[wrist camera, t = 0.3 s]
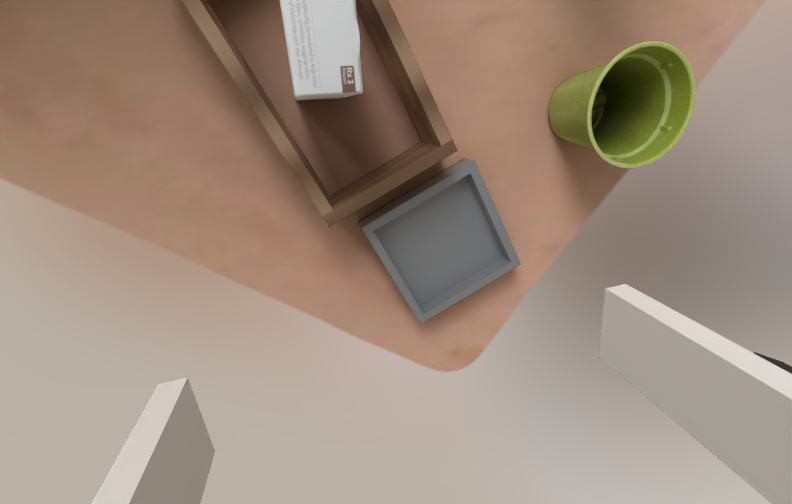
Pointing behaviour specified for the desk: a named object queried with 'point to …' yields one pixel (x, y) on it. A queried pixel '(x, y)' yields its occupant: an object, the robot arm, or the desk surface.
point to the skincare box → (322, 48)
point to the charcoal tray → (441, 240)
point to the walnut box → (405, 80)
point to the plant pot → (628, 105)
